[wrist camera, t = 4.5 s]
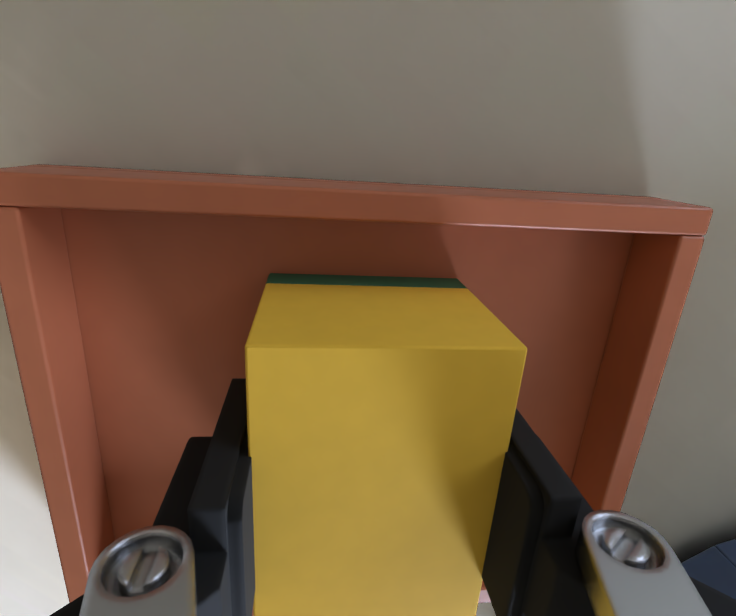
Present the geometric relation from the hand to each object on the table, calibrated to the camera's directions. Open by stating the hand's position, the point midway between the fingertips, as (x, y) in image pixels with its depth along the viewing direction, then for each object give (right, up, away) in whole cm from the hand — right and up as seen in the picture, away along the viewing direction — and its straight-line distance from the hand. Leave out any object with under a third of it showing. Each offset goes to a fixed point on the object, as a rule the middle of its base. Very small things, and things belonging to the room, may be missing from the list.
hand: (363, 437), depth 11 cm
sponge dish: (0, +1, +2) cm, 2 cm away
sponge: (0, 0, +1) cm, 1 cm away
